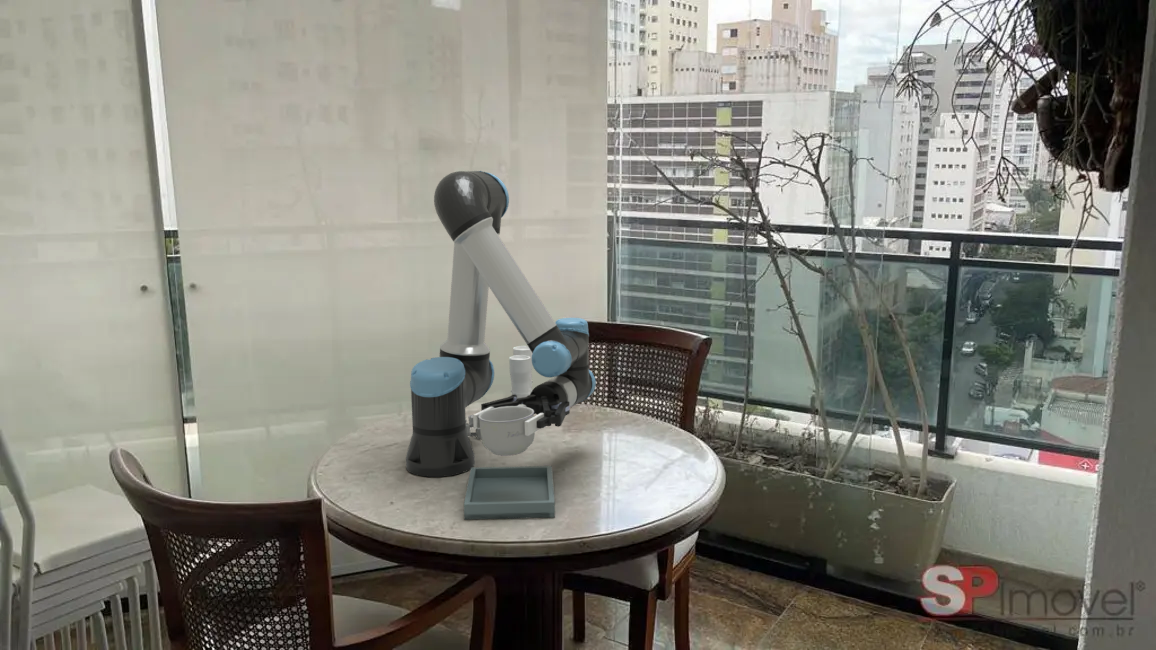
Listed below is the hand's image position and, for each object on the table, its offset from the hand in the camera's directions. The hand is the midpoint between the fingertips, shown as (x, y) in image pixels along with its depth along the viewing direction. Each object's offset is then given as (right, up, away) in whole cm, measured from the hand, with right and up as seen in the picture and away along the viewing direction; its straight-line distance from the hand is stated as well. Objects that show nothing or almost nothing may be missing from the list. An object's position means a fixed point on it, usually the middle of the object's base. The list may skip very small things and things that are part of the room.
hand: (500, 425), depth 161 cm
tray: (+1, -15, +7) cm, 17 cm away
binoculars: (0, -6, +61) cm, 61 cm away
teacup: (+2, -5, +5) cm, 7 cm away
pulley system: (-11, -8, +50) cm, 52 cm away
